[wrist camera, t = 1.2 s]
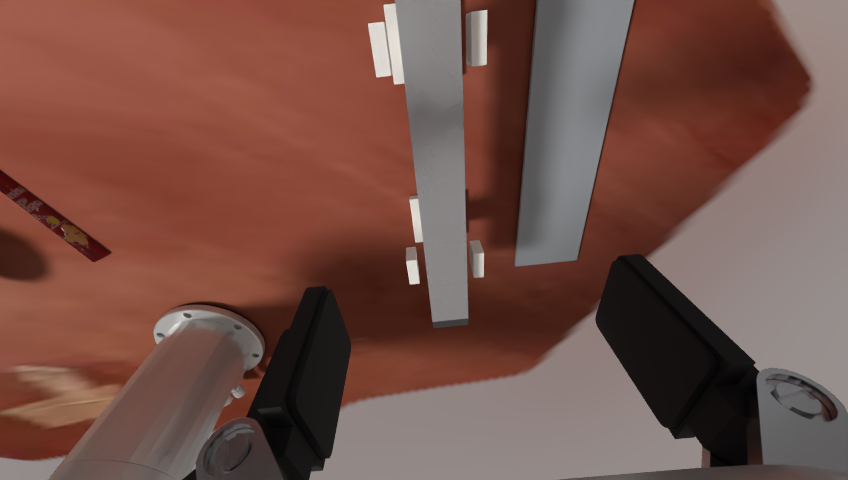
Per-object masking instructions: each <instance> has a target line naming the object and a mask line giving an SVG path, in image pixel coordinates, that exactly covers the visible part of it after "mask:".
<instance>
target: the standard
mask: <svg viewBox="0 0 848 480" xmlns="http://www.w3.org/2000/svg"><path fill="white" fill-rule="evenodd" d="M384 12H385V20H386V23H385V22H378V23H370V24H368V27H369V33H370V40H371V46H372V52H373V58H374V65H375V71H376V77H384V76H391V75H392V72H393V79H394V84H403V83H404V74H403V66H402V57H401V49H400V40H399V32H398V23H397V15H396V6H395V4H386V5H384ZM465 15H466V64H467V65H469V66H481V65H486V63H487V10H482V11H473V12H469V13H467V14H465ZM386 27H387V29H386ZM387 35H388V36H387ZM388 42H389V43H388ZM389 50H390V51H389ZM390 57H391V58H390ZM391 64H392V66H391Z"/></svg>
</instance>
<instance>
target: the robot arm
mask: <svg viewBox="0 0 848 480" xmlns="http://www.w3.org/2000/svg"><path fill="white" fill-rule="evenodd" d="M596 324H597V327H598V328H599V330H600V332H601V333H602V334H603V336H604V338H605V339H606V341H607V342H608V344H609V345H610V347H611V348H612V350H613V352H614V353H615V355H616V356H617V358H618V359H619V361H620V362H621V364H622V365H623V367H624V369H625V370H626V372H627V373H628V375H629V376H630V378H631V379H632V381H633V382H634V384H635V386H636V387H637V389H638V390H639V392H640V393H641V395H642V396H643V398H644V399H645V401H646V403H647V404H648V405H649V407H650V409H651V410H652V412H653V413H654V415H655V416H656V418H657V419H658V421H659V422H660V424H661V425H662V426H664V427H666V428H668V429H669V430H670V432H671V433H672V435H673V436H674V438H675V439H681V438H692V437H695V436H696V437H697V439H698V440H699V442H700V443H701V444H702V446H703V447H702V465H701V468H694V469H681V470H669V471H656V472H645V473H633V474H620V475H608V476H597V477H596V476H595V477H584V478H573V479H562V480H848V413H847V411H846V409H845V407H844V405H843V404H842V403H841V402H840V401H839V400H838V399H837V398H836V397H835V395H833V394H832V393H831V392H829V391H828V390H827V389H826V388H824V387H823V386H821V385H820V384H818V383H816V382H815V381H813V380H811V379H809V378H807V377H805V376H803V375H800V374H798V373H796V372H792V371H788V370H785V369H778V368H768V369H763V370H762V371H761V372H759V371H758V370H757V369H756V368H755V367H754V366H753V365H754V364H755V361H754V360H752V359H751V358H750V357H749V356H748V355H747V354H746V353H745V352H744V351H743V350H742V349H741V348H740V347H739V346H738V345H737V344H735V343H734V342H733V341H732V340H731V339H730V338H729V337H728V336H727V335H726V334H725V333H724V332H723V331H722V330H721V329H719V327H718V326H716V325H715V324H714V323H713V322H712V321H711V320H710V319H709V318H708V317H707V316H706V315H705V314H704V313H703V312H702V311H700V310H699V309H698V308H697V307H696V306H695V305H694V304H693V303H692V302H691V301H690V300H689V299H688V298H687V297H686V296H685V295H684V294H682V293H681V292H680V291H679V290H678V289H677V288H676V287H675V286H674V285H673V284H672V283H671V282H670V281H669V280H667V278H665V277H664V276H663V275H662V274H661V273H660V272H659V271H658V270H657V269H656V268H655V267H654V266H653V265H652V264H651V263H650V262H649V261H647V260H646V259H645V258H644V257H643V256H642V255H640V254H634V255H624V256H619V257H618V258H617V260H616V261H614V262H612V265H611V268H610V271H609V274H608V278H607V281H606V284H605V288H604V291H603V294H602V297H601V301H600V304H599V307H598V311H597V314H596ZM154 338H155V341H156V343H157V346H156V347H155V348H154V350H153V351H152V352H151V353H150V354H149V356H148V357H147V358H146V359H145V361H144V362H143V363H142V364H141V366H140V367H139V368H138V369H137V370H136V372H135V373H134V374H133V375H132V377H131V378H130V379H129V380H128V381H127V383H126V384H125V385H124V386H123V388H122V389H121V390H120V391H119V393H118V394H117V395H116V396H115V397H114V399H113V400H112V401H111V402H110V404H109V405H108V406H107V407H106V409H105V410H104V411H103V412H102V413H101V415H100V416H99V417H98V418H97V420H96V421H95V422H94V423H93V424H92V426H91V427H90V428H89V429H88V431H87V432H86V433H85V434H84V436H83V437H82V438H81V439H80V440H79V442H78V443H77V444H76V445H75V447H74V448H73V449H72V450H71V451H70V453H69V454H68V455H67V456H66V458H65V459H64V460H63V461H62V463H61V464H60V465H59V466H58V467H57V469H56V470H55V471H54V473H53V474H52V475H51V476H50V478H49V479H48V480H309V478H310V473H311V471H321V470H323V467H324V462H325V459H326V458H330V456H331V453H332V449H333V444H334V439H335V433H336V428H337V422H338V417H339V412H340V406H341V401H342V395H343V390H344V385H345V379H346V374H347V369H348V363H349V358H350V352H351V342H350V339H349V336H348V333H347V330H346V328H345V325H344V322H343V319H342V316H341V313H340V311H339V308H338V305H337V302H336V299H335V297H334V294H333V291H332V290H327V288H326V287H325V286H319V287H309V288H307V289H306V290H305V293H304V295H303V297H302V300H301V302H300V305H299V307H298V310H297V312H296V315H295V317H294V319H293V322H292V324H291V327H290V329H287V330H285V331H284V332H283V333H282V335H281V337H280V339H279V342H278V344H277V346H276V349H275V351H274V353H273V356H272V358H271V360H270V363H269V365H268V367H267V370H266V372H265V374H264V377H263V379H262V381H261V384H260V386H259V388H258V391H257V393H256V395H255V398H254V400H253V402H252V405H251V407H250V409H249V412H248V414H247V416H246V417H241V418H237V419H234V420H231V421H229V422H228V423H226V424H224V425H222V426H221V427H220V428H219V429H218V430H216V431H215V432H214V433H213V434H212V435H211V436H210V434H211V432H212V430H213V428H214V426H215V424H216V422H217V420H218V418H219V416H220V413H221V411H222V409H223V407H224V406H227V405H228V404H229V403H231V401H232V400H233V397H234V396H235V397H236V398H240V397H242V396H243V395H244V394H245V392H246V390H245V389H244V387H243V386H242V384H240V381H241V379H242V377H243V375H244V373H245V371H248V370H250V369H252V368H254V367H255V366H256V365H257V364H258V363H259V362H260V360H261V358H262V356H263V354H264V351H265V342H264V339H263V337H262V335H261V333H260V332H259V330H258V329H257V328H256V327H255V326H254V325H253V324H252V323H250V322H249V321H248V320H247V319H245V318H243V317H242V316H240V315H238V314H236V313H233V312H231V311H229V310H226V309H222V308H219V307H214V306H209V305H185V306H181V307H176V308H174V309H172V310H170V311H168V312H167V313H166V314H164V315H163V316H162V317H161V319H160V320H159V321H158V322H157V323H156V326H155V328H154ZM231 392H232V393H233V394H232V393H231ZM233 395H234V396H233ZM209 436H210V437H209ZM208 438H209V439H208ZM195 464H196V469H194V470H193V468H194V466H195ZM192 470H193V471H192Z"/></svg>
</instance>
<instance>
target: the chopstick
mask: <svg viewBox="0 0 848 480" xmlns="http://www.w3.org/2000/svg"><path fill="white" fill-rule="evenodd" d="M0 191H1V192H2V193H4V194H5V195H6V196H8V197H9V198H10V199H12V200H13V201H14V202H15V203H17V204H18V205H19V206H21V207H22V208H23V209H25V210H26V211H27V212H29V213H30V214H31V215H32V216H34V217H35V218H36V219H38V220H39V221H40V222H42V223H43V224H44V225H45V226H47V227H48V228H49V229H51V230H52V231H53V232H55V233H56V234H57V235H59V236H60V237H61V238H62V239H64V240H65V241H66V242H68V243H69V244H70V245H72V246H73V247H74V248H75V249H77V250H78V251H79V252H81V253H82V254H83V255H85V256H86V257H87V258H89V259H90V260H91V261H92V262H96V261H98V260H100V259H101V258H103V257H105V256H107V255H108V254H109V252H108V251H107V250H105V249H104V248H103V247H101V246H100V245H99V244H97V243H96V242H95V241H93V240H92V239H90V238H89V237H88V236H86V235H85V234H84V233H82V232H81V231H80V230H78V229H77V228H76V227H74V226H73V225H72V224H70V223H69V222H68V221H66V220H65V219H63V218H62V217H61V216H59V215H58V214H57V213H55V212H54V211H53V210H51V209H50V208H49V207H47V206H46V205H45V204H43V203H42V202H41V201H39V200H38V199H36V198H35V197H34V196H32V195H31V194H30V193H28V192H27V191H26V190H24V189H23V188H22V187H20V186H19V185H18V184H16V183H15V182H14V181H12V180H11V179H9V178H8V177H7V176H5V175H4V174H3V173H1V172H0Z"/></svg>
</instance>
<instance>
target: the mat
mask: <svg viewBox="0 0 848 480" xmlns="http://www.w3.org/2000/svg"><path fill="white" fill-rule="evenodd" d="M633 3H634V0H536V12H535V24H534V36H533V48H532V60H531V73H530V85H529V97H528V109H527V121H526V133H525V145H524V157H523V169H522V181H521V193H520V205H519V217H518V229H517V241H516V253H515V266H516V267H517V266H526V265H536V264H545V263H555V262H564V261H574V260H577V257H578V252H579V248H580V243H581V239H582V234H583V230H584V225H585V221H586V216H587V212H588V207H589V203H590V198H591V194H592V189H593V184H594V180H595V175H596V171H597V166H598V162H599V157H600V153H601V148H602V144H603V139H604V135H605V130H606V126H607V121H608V117H609V112H610V108H611V103H612V99H613V94H614V89H615V85H616V80H617V76H618V71H619V67H620V62H621V58H622V53H623V49H624V44H625V40H626V35H627V31H628V26H629V22H630V17H631V13H632V8H633Z"/></svg>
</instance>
